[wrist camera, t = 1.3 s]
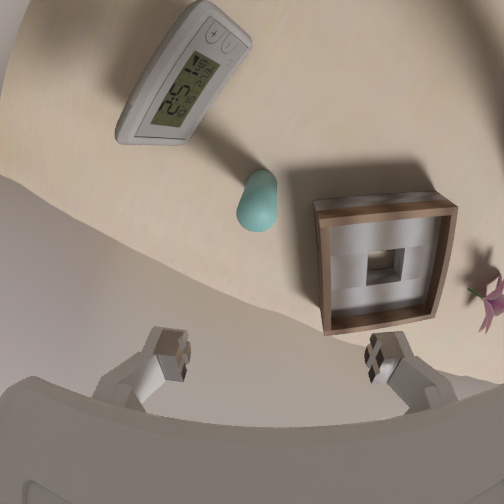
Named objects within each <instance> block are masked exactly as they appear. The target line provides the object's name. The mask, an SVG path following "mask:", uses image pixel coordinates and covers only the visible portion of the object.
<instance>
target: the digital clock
mask: <svg viewBox="0 0 504 504" xmlns="http://www.w3.org/2000/svg"><path fill="white" fill-rule="evenodd" d="M251 48H252V40H251V38H250V36H249V35H248V34H247V33H246V32H245V31H244V30H243V29H242V28H241V27H240V26H239V25H237V24H236V23H235V22H234V21H233V20H232V19H231V18H230V17H229V16H227V15H226V14H225V13H224V12H223V11H222V10H221V9H219V8H218V7H217V6H216V5H214V4H213V3H212V2H210V1H208V0H197V1H195V2H193V3H192V4H190V5H189V6H188V7H187V8H186V9H185V11H184V12H183V13H182V14H181V16H180V17H179V18H178V20H177V21H176V22H175V24H174V25H173V26H172V28H171V29H170V30H169V32H168V33H167V35H166V36H165V38H164V39H163V41H162V42H161V44H160V45H159V47H158V48H157V50H156V51H155V53H154V55H153V56H152V58H151V59H150V61H149V63H148V64H147V66H146V68H145V70H144V71H143V73H142V75H141V76H140V78H139V80H138V82H137V84H136V86H135V87H134V89H133V91H132V93H131V95H130V97H129V99H128V101H127V103H126V105H125V107H124V109H123V111H122V113H121V116H120V118H119V120H118V122H117V125H116V128H115V139H116V141H117V142H118V143H119V144H123V145H169V146H178V145H184V144H186V143H187V142H188V141H189V139H190V138H191V136H192V134H193V133H194V131H195V130H196V128H197V126H198V125H199V123H200V122H201V120H202V119H203V117H204V115H205V114H206V112H207V111H208V109H209V108H210V106H211V105H212V103H213V102H214V100H215V99H216V97H217V96H218V94H219V93H220V91H221V90H222V88H223V87H224V86H225V84H226V83H227V81H228V80H229V78H230V77H231V76H232V74H233V73H234V72H235V70H236V69H237V67H238V66H239V65H240V63H241V62H242V61H243V59H244V58H245V57H246V55H247V54H248V53H249V51H250V50H251Z"/></svg>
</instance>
